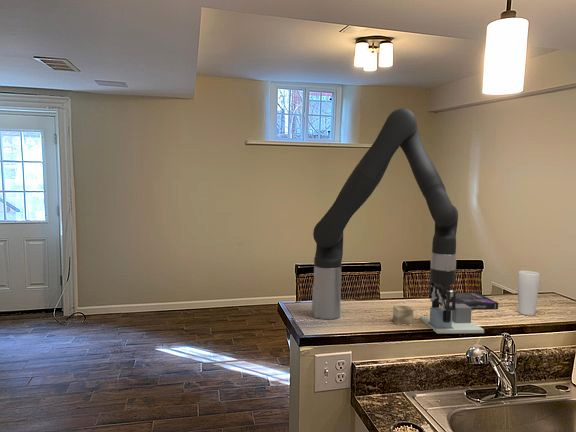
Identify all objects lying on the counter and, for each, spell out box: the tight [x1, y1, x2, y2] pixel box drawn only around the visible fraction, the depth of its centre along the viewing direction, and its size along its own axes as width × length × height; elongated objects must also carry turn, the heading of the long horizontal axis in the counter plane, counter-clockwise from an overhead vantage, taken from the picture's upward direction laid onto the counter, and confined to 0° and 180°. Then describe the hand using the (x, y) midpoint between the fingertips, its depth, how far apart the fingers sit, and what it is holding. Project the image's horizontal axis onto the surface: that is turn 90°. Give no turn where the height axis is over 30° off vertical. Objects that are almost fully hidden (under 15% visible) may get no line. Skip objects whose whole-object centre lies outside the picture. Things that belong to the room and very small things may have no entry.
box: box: [439, 292, 499, 311], centre depth 170 cm, size 14×4×20 cm
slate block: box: [429, 306, 452, 328], centre depth 141 cm, size 5×5×5 cm
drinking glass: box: [517, 270, 541, 317], centre depth 158 cm, size 7×7×15 cm
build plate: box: [419, 304, 485, 334], centre depth 144 cm, size 15×14×6 cm
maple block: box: [392, 305, 414, 326], centre depth 147 cm, size 5×5×5 cm
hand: (440, 317), depth 141 cm, fingers open, 8 cm apart
